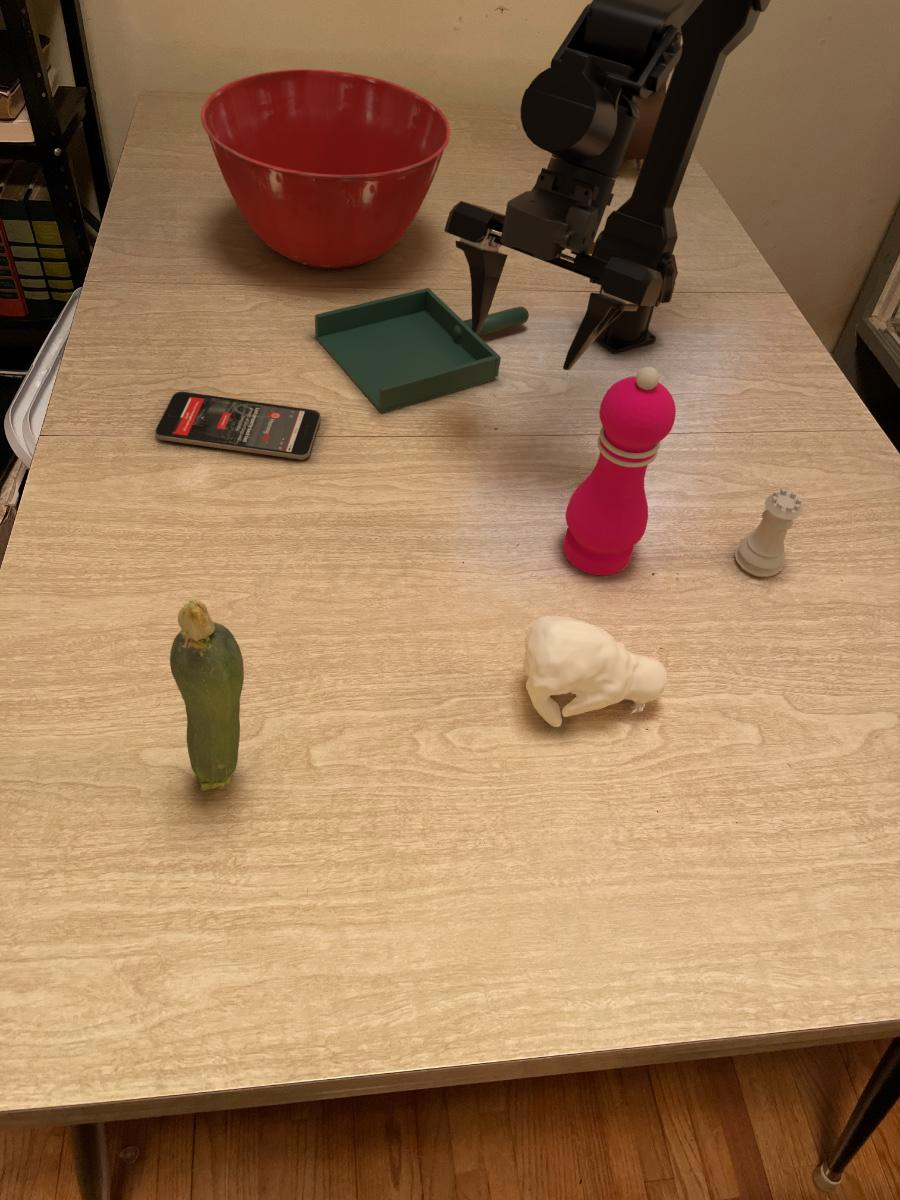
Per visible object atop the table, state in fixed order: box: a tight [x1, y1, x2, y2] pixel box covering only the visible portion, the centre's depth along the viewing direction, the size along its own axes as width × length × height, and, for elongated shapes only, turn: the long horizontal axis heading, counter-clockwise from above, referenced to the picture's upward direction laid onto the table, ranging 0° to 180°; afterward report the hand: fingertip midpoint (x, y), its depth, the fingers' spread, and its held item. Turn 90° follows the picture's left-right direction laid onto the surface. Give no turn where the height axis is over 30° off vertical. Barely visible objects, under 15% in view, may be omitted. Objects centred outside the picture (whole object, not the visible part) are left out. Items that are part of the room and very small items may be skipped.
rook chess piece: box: [734, 488, 803, 578], centre depth 87 cm, size 4×4×8 cm
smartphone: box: [154, 391, 322, 461], centre depth 95 cm, size 7×1×15 cm
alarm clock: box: [623, 74, 670, 172], centre depth 139 cm, size 15×7×20 cm, turn 6°
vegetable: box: [169, 598, 245, 791], centre depth 62 cm, size 4×4×20 cm
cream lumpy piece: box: [522, 615, 668, 728], centre depth 74 cm, size 6×8×12 cm
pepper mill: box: [562, 366, 677, 577], centre depth 81 cm, size 7×7×20 cm
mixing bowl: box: [200, 68, 451, 270], centre depth 116 cm, size 28×28×15 cm
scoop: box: [314, 287, 530, 414], centre depth 107 cm, size 24×15×3 cm, turn 122°
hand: (520, 350), depth 86 cm, fingers open, 9 cm apart
